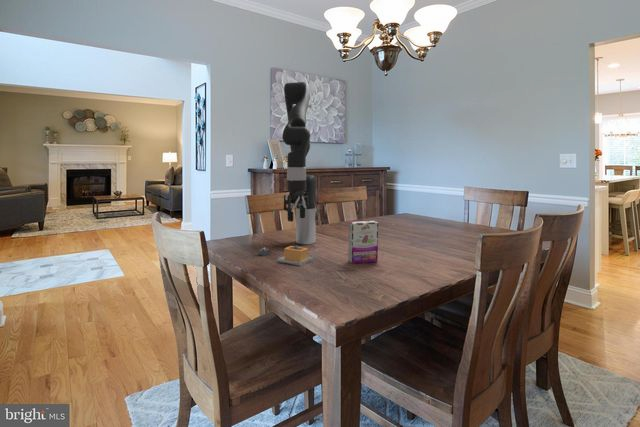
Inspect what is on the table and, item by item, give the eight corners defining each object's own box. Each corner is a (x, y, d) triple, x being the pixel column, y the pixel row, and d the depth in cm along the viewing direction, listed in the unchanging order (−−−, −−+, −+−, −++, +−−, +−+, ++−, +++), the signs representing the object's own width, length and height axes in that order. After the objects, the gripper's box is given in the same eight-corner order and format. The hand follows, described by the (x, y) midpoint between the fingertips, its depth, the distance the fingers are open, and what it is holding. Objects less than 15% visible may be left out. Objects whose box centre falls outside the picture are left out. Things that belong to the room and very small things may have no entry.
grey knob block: (264, 252, 163) (264, 246, 162) (269, 253, 161) (269, 247, 161) (258, 254, 159) (258, 248, 159) (263, 255, 158) (263, 249, 157)
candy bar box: (372, 259, 155) (374, 220, 152) (377, 262, 150) (379, 222, 147) (347, 260, 152) (348, 221, 149) (351, 264, 147) (352, 223, 144)
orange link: (291, 255, 154) (291, 245, 154) (307, 258, 150) (307, 248, 150) (284, 257, 150) (284, 248, 150) (300, 260, 146) (300, 250, 146)
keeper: (292, 256, 157) (292, 241, 157) (314, 260, 152) (314, 245, 151) (277, 261, 149) (277, 246, 148) (300, 265, 143) (300, 250, 142)
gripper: (298, 177, 153) (298, 216, 156) (277, 179, 141) (278, 221, 144) (314, 178, 150) (314, 217, 152) (294, 180, 138) (294, 223, 140)
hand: (296, 219), depth 148 cm, fingers open, 8 cm apart
